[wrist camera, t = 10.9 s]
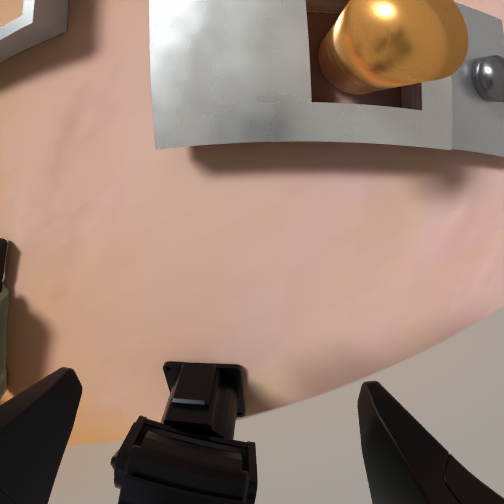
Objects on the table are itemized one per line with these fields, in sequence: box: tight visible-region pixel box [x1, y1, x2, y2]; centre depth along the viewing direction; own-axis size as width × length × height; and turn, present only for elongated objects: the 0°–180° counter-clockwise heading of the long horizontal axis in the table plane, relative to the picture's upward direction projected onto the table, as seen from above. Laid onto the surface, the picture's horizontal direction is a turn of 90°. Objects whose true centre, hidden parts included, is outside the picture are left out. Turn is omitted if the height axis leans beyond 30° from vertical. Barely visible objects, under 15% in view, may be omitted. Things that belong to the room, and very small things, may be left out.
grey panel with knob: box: [150, 0, 504, 157], centre depth 14 cm, size 10×22×3 cm, turn 93°
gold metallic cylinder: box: [318, 0, 469, 95], centre depth 12 cm, size 4×4×9 cm
